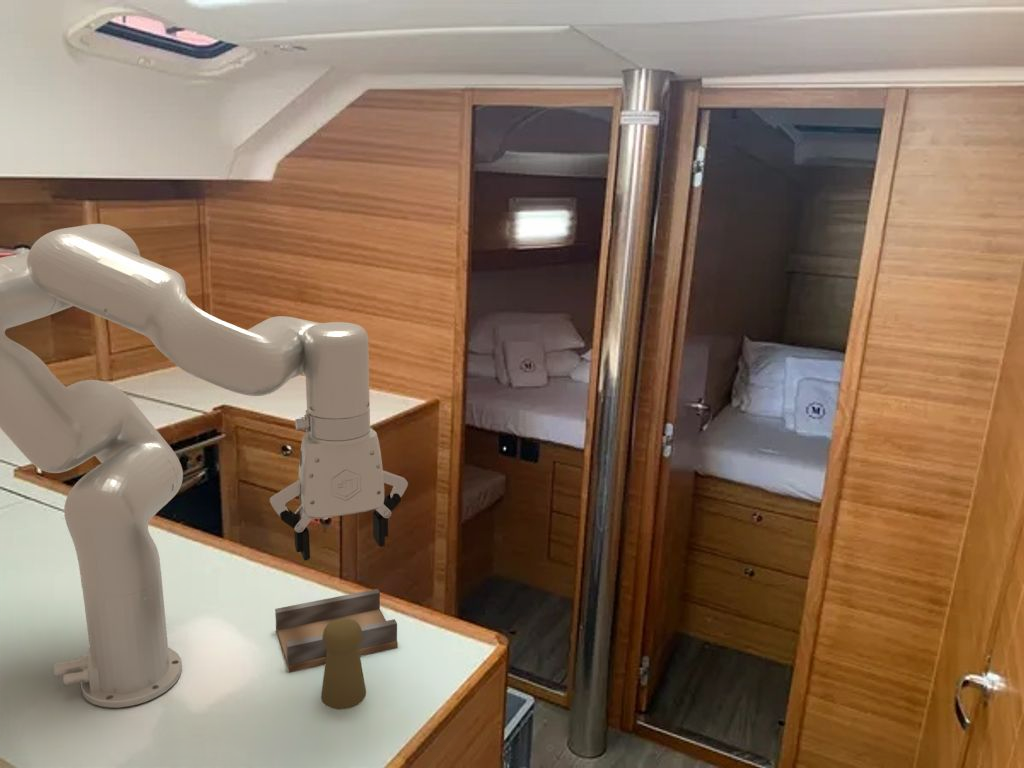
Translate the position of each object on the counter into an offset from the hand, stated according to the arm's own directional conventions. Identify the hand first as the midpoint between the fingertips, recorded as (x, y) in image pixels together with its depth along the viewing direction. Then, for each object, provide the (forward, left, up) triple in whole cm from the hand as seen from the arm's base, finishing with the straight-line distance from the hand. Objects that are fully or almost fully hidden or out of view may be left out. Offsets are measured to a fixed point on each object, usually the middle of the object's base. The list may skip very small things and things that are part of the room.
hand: (342, 548), depth 103 cm
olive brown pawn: (0, 0, -22) cm, 22 cm away
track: (+2, +13, -22) cm, 26 cm away
